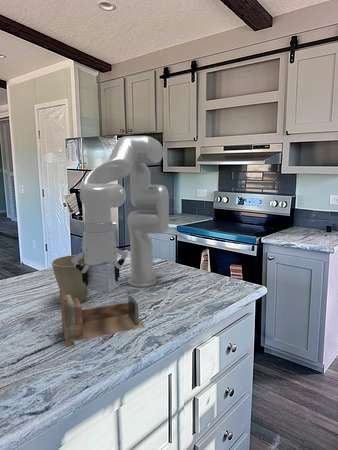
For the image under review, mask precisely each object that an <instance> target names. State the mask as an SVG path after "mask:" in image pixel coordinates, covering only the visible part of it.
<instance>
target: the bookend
mask: <svg viewBox="0 0 338 450" xmlns="http://www.w3.org/2000/svg"><path fill="white" fill-rule="evenodd" d="M127 299H128V300H127V302H128V310H129V317H130V318H131V319H132V321H133V322H134V324H135V325H139V319H140V318H139V303H138V302H137V301H136V300H135V299H134V296H132V295H127Z"/></svg>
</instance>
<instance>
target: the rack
mask: <svg viewBox="0 0 338 450" xmlns="http://www.w3.org/2000/svg"><path fill="white" fill-rule="evenodd" d="M58 288H60V289H59V298H60V299H59V301H60V302H59V303H60V313H61V325H62V326H61V328H62V332H63V336H64V337H63V338H64V341H65V344H66V346H67V347H69V346H74V345H76V344H75V342H76V341H77V342H78V341H81V340H86V339H92V338H96V337H101V336H106V335H111V334H117V333H120V332H121V333H122V332H126V331H131V330H136V329H141V328H145V327H146V326H145V324H144V323H143V321H142V320H141V319H140V318H139V325H135V324H134V322H133V321H132V319H131V318H130V317H129V310H128V301H126V302H125V301H124V302H119V303H113V304H108V305H102V306H96V307H90V308H83V307H82V305H81V304H82V303H81V302H80V301H79V299H78V298H71V295H66V293H65V290H64V287H63V286H58Z"/></svg>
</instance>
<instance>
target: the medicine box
mask: <svg viewBox="0 0 338 450" xmlns="http://www.w3.org/2000/svg"><path fill="white" fill-rule="evenodd" d="M87 273H88V285H87V289H88V291H89V290H90V291H95V292H96V291H98V292H104V293H110V292H112V291H113V290H114V289H116V287H117V284H116V283H117V281H116V280H115V265H114V263H107V264H100V265H94V266H89V268H88V269H87Z"/></svg>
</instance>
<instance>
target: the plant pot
mask: <svg viewBox="0 0 338 450" xmlns="http://www.w3.org/2000/svg"><path fill="white" fill-rule="evenodd" d="M77 255H78V254H73V255H72V254H71V255H65V256H60V257H57V258H55V259H53V260H52V261H51V267H52V270H53V274H54V278H55V280H56V283H57V286H58V288H59V286H63V287H64V290H65V293H66V295H71V298H78V299H79V301H80V303H82V302H84V301H85V300H86V297H87V295H88V291H89V290H88V289H87V286H86V285H85V283H84V282H83V281H82V272H81V271H80V270H78V269H77V268H76V267H75V265H74V264H73V263H72V261H71V259H72V258H74V257H75V256H77ZM78 263H79V264H80V265H81V266H82V265H83V264H84V262H83V258H81V259H80V260H78ZM59 290H60V288H59Z"/></svg>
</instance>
